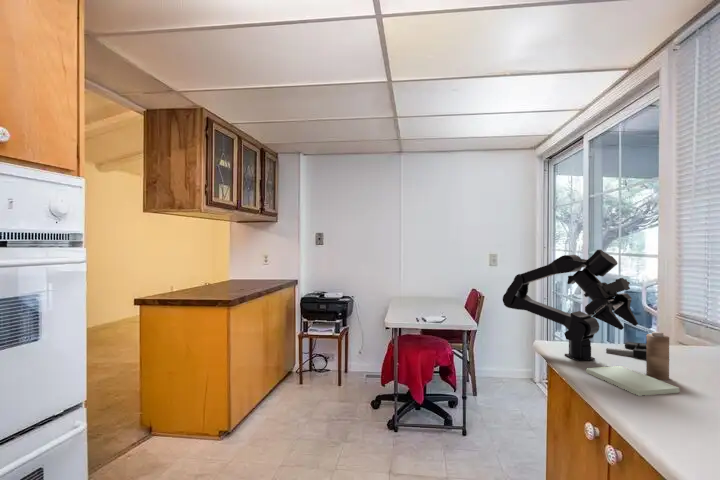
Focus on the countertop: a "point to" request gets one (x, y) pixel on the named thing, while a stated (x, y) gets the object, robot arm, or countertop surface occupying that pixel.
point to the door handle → (636, 353)
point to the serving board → (632, 380)
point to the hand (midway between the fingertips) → (629, 326)
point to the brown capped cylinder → (657, 356)
